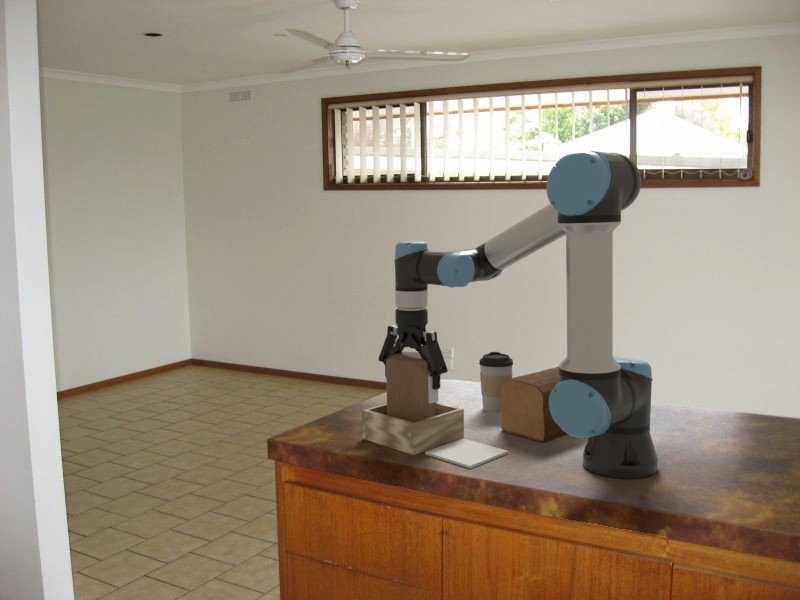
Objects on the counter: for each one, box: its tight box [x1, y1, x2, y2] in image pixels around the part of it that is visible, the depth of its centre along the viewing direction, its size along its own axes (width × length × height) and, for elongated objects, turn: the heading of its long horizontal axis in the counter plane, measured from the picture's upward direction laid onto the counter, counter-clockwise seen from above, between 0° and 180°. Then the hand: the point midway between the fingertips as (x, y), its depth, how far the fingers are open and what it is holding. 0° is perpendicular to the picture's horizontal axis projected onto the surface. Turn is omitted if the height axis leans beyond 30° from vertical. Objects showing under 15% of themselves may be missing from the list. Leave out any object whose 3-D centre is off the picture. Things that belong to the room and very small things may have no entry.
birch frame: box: [361, 401, 465, 456], centre depth 180 cm, size 17×17×7 cm
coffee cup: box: [478, 351, 514, 413], centre depth 203 cm, size 9×9×15 cm
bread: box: [500, 365, 568, 443], centre depth 190 cm, size 14×34×14 cm, turn 132°
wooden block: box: [385, 351, 436, 423], centre depth 179 cm, size 10×10×20 cm
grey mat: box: [424, 437, 509, 469], centre depth 168 cm, size 13×13×1 cm
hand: (412, 397), depth 179 cm, fingers closed on wooden block, 13 cm apart
